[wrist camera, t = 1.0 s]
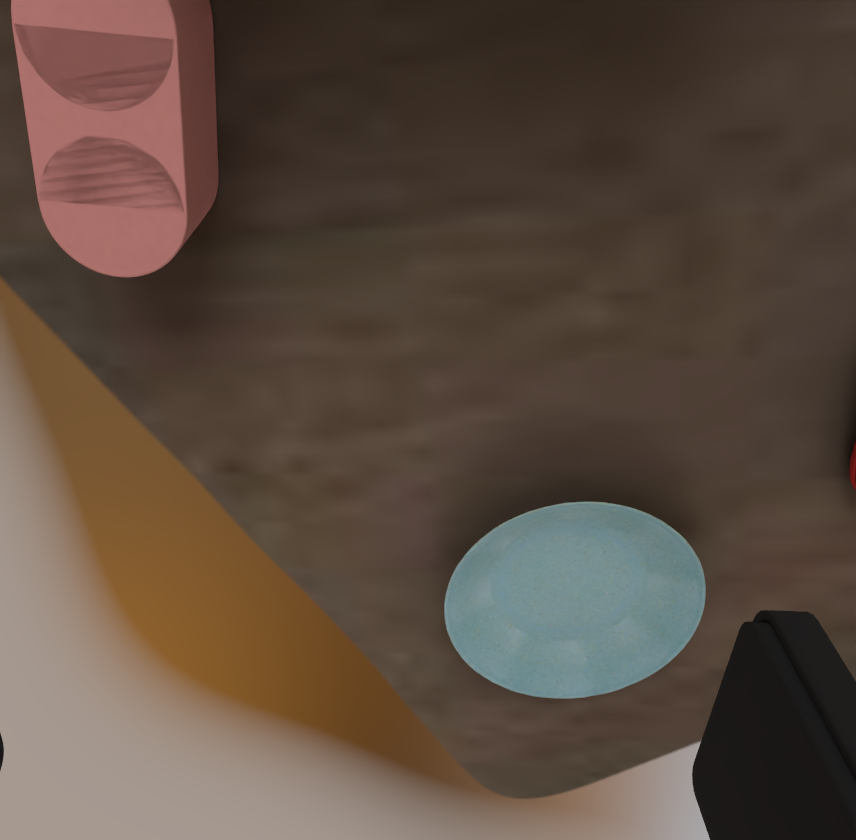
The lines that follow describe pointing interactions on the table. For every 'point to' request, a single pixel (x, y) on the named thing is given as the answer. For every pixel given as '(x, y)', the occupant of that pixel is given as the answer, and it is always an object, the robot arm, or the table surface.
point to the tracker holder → (853, 467)
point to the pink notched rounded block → (120, 125)
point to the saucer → (575, 600)
